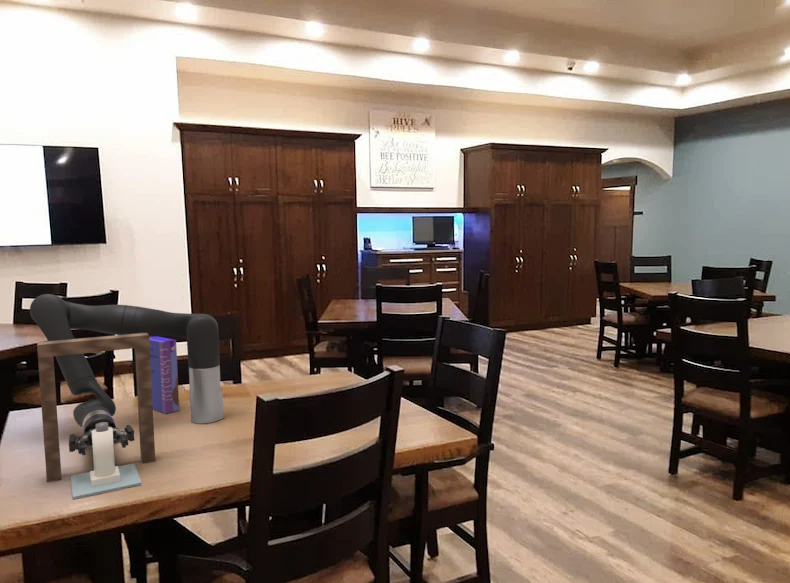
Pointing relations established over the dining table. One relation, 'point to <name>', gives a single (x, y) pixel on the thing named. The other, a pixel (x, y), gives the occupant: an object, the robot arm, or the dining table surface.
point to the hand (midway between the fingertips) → (104, 447)
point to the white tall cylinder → (103, 456)
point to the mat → (84, 488)
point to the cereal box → (164, 374)
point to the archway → (88, 346)
